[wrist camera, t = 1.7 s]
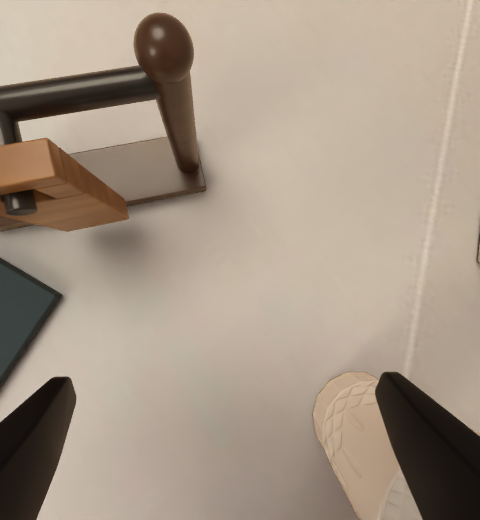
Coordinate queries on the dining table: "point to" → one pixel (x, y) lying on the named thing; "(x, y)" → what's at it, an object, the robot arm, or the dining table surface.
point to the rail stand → (113, 94)
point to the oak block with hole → (57, 187)
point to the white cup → (362, 449)
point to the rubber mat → (20, 313)
